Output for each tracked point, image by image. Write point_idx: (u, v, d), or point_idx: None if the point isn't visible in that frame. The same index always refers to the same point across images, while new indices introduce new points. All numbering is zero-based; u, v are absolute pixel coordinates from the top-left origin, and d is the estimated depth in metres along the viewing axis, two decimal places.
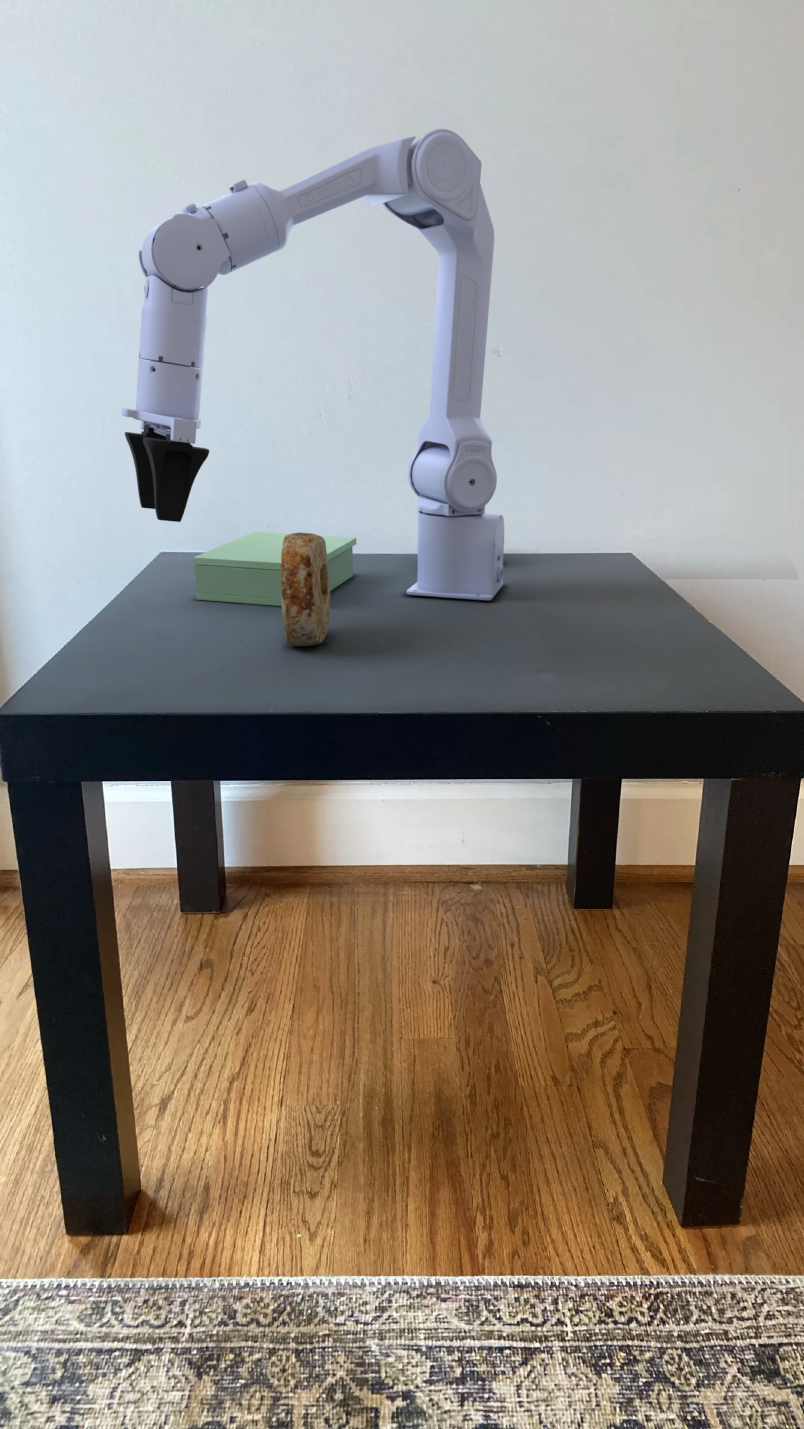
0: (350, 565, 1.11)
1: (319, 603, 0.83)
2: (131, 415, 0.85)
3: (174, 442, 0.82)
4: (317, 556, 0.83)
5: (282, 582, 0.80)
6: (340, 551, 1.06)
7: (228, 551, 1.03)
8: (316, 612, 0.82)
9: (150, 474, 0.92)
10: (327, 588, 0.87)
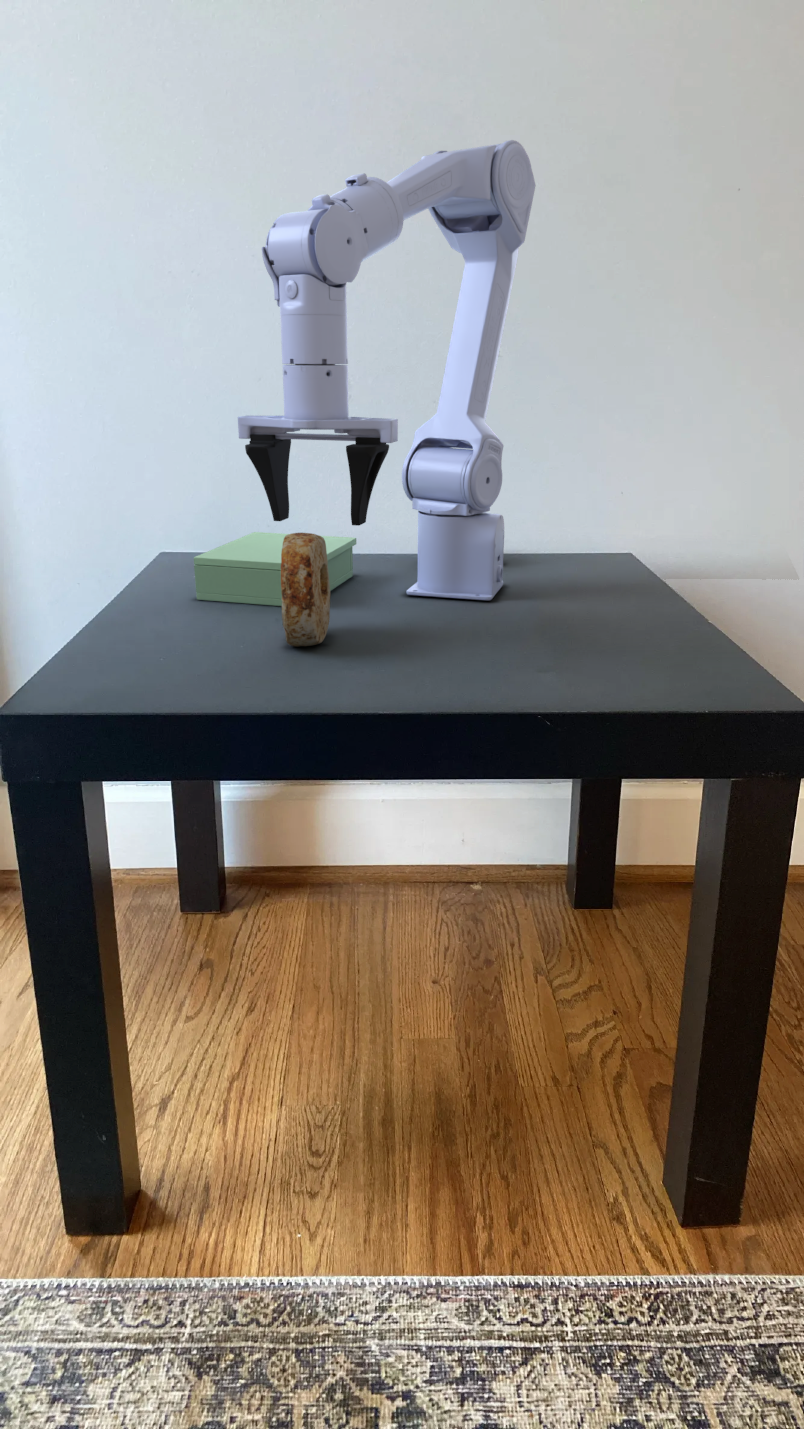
0: (350, 565, 1.11)
1: (319, 603, 0.83)
2: (314, 426, 0.81)
3: (380, 444, 0.82)
4: (317, 556, 0.83)
5: (282, 582, 0.80)
6: (340, 551, 1.06)
7: (228, 551, 1.03)
8: (316, 612, 0.82)
9: (279, 484, 0.86)
10: (327, 588, 0.87)
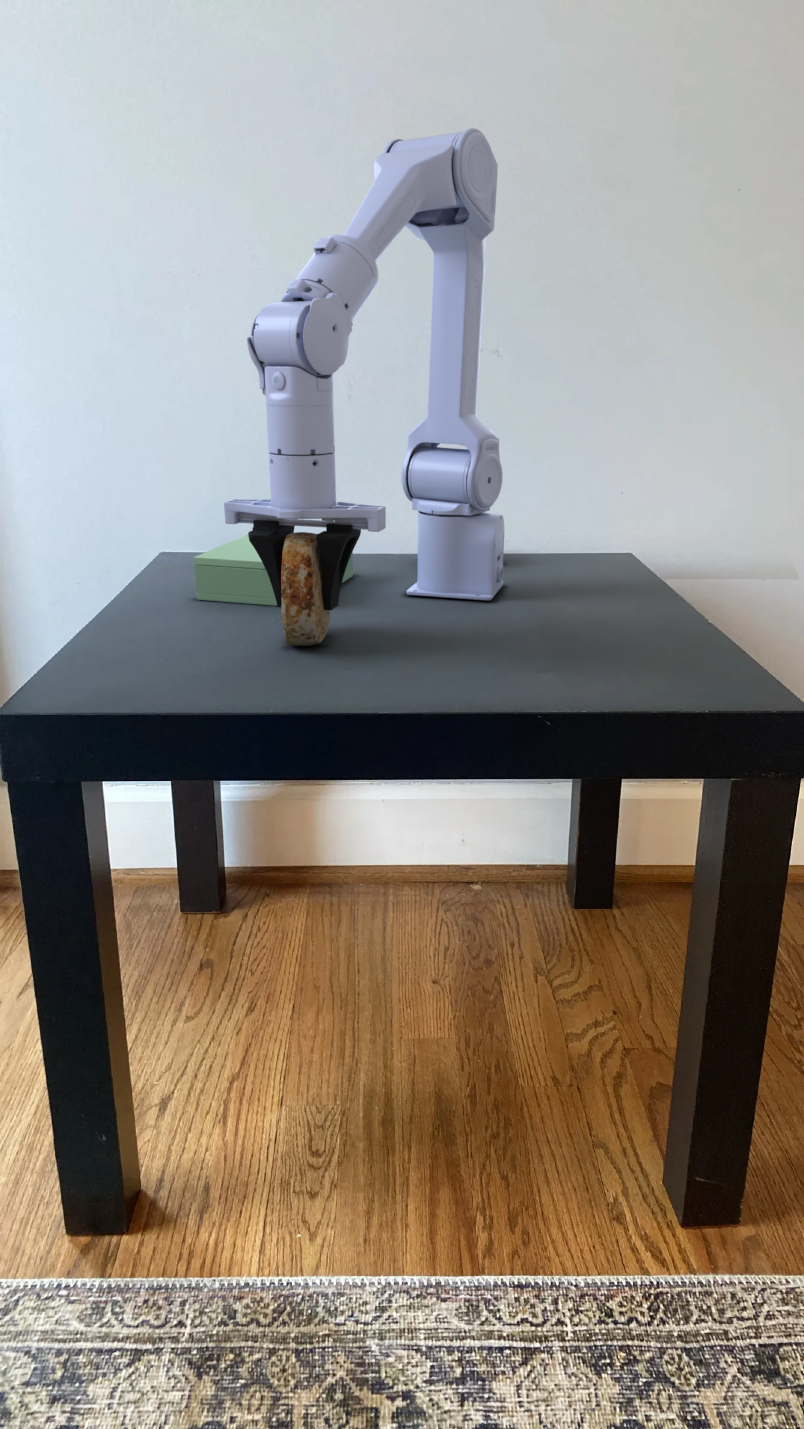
0: (350, 565, 1.11)
1: (319, 603, 0.83)
2: (300, 516, 0.80)
3: (351, 531, 0.82)
4: (318, 556, 0.83)
5: (282, 581, 0.80)
6: None
7: (228, 551, 1.03)
8: (315, 612, 0.82)
9: None
10: None
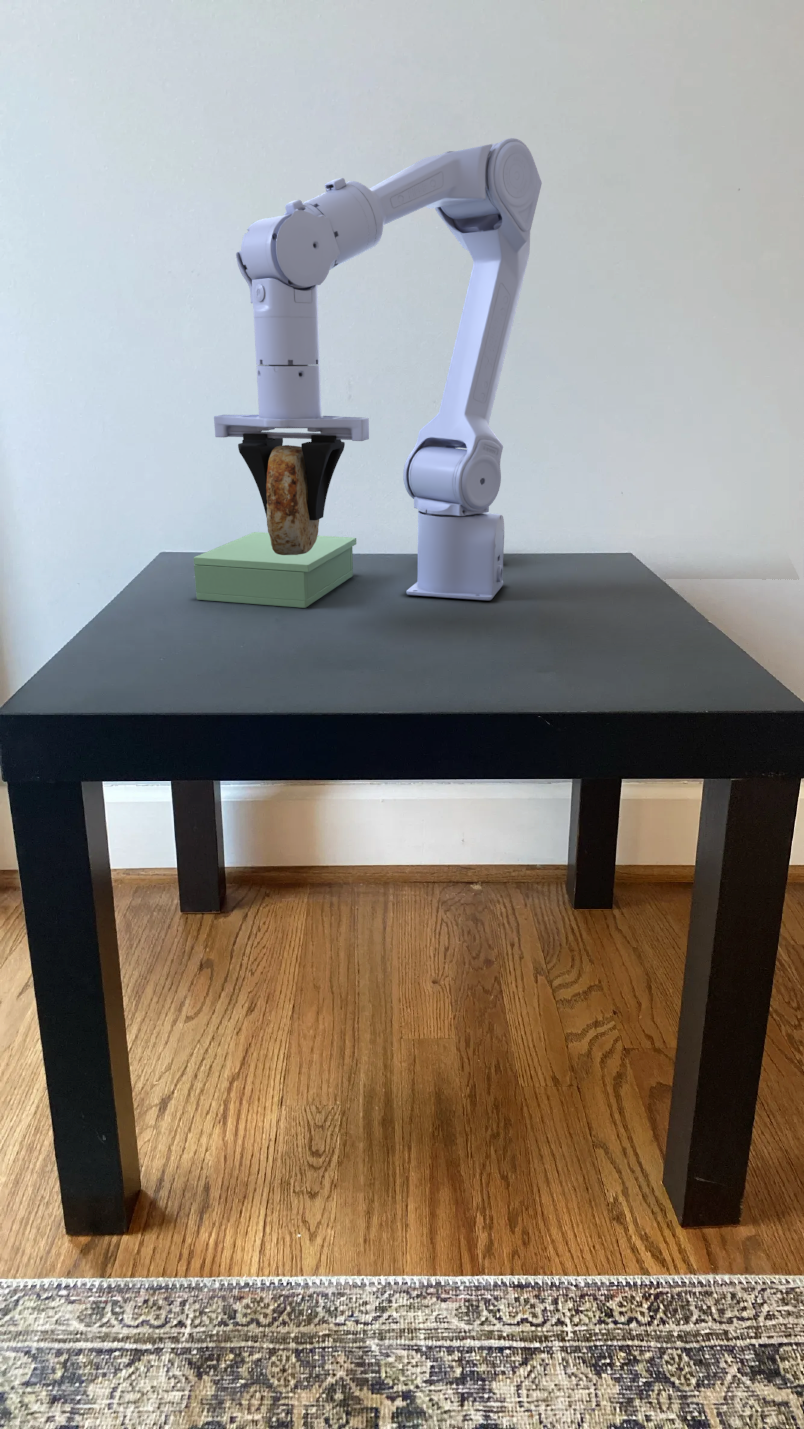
0: (350, 565, 1.11)
1: (304, 512, 0.87)
2: (287, 425, 0.83)
3: (335, 441, 0.85)
4: (303, 466, 0.86)
5: (267, 488, 0.84)
6: (340, 551, 1.06)
7: (228, 551, 1.03)
8: (300, 519, 0.86)
9: None
10: None
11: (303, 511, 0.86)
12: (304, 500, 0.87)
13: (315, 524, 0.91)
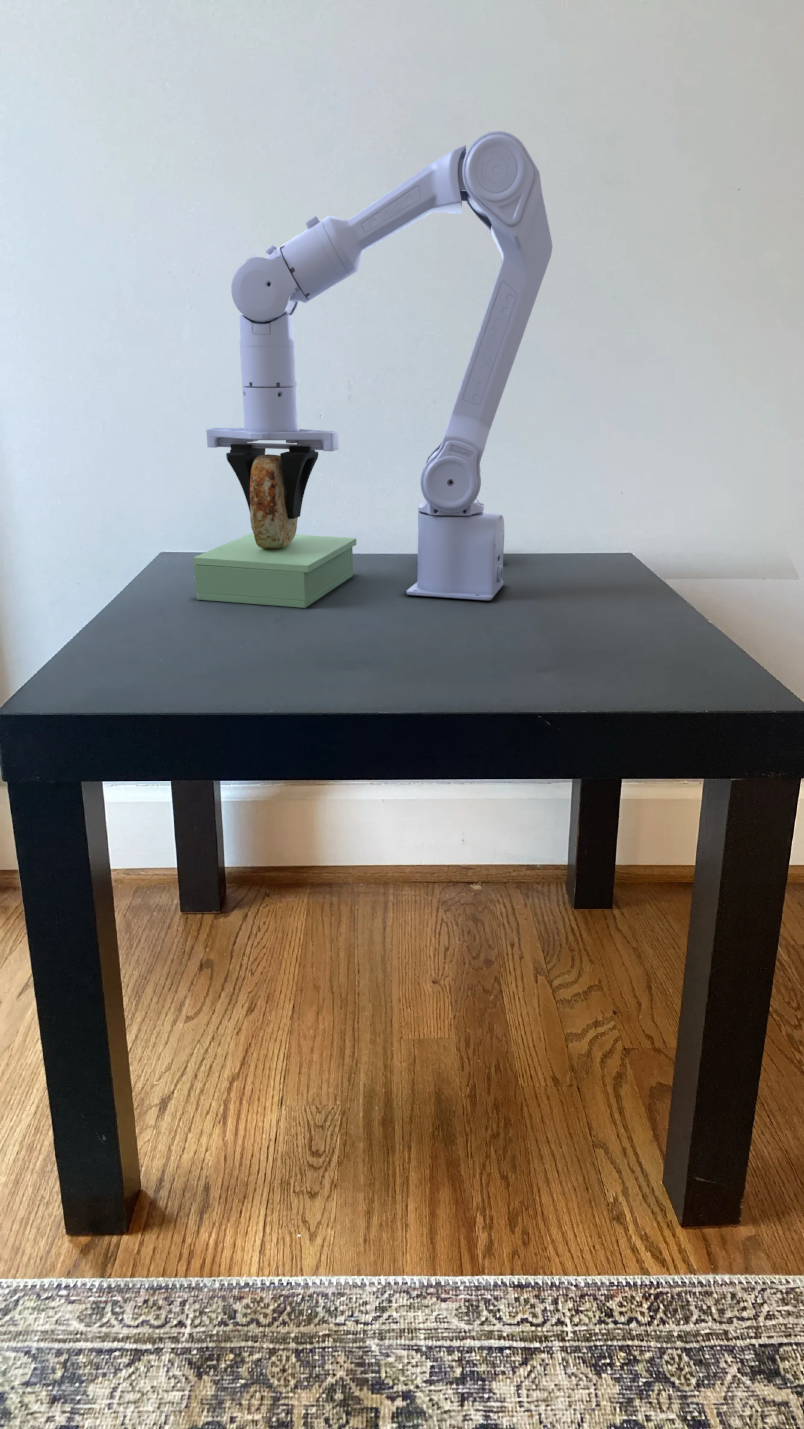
0: (350, 565, 1.11)
1: (282, 511, 1.01)
2: (267, 437, 0.98)
3: (309, 451, 1.00)
4: (281, 472, 1.01)
5: (250, 491, 0.99)
6: (340, 551, 1.06)
7: (228, 551, 1.03)
8: (279, 518, 1.00)
9: None
10: None
11: (282, 510, 1.01)
12: (282, 501, 1.01)
13: (293, 522, 1.05)
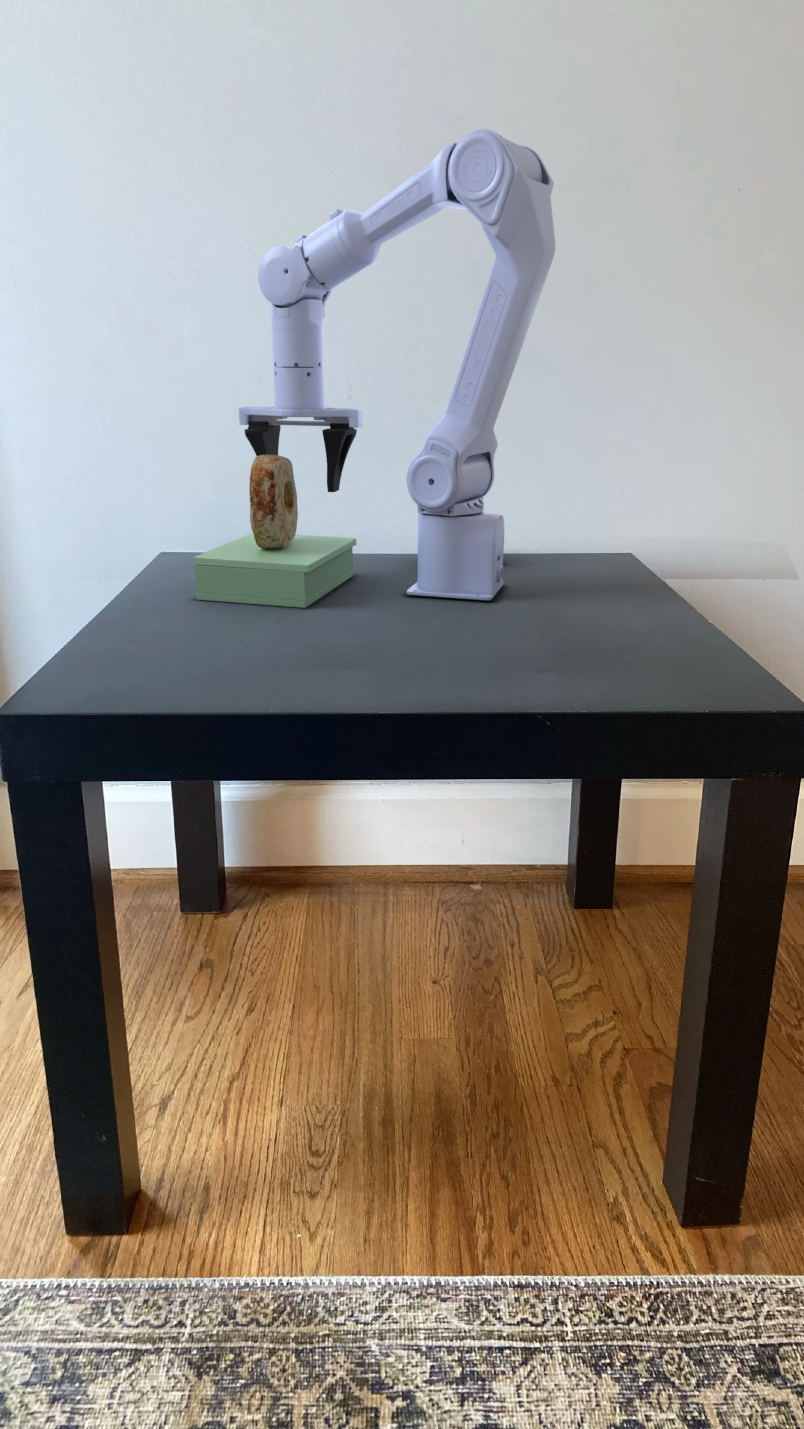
0: (350, 565, 1.11)
1: (282, 511, 1.01)
2: (297, 414, 1.05)
3: (349, 428, 1.07)
4: (281, 472, 1.01)
5: (250, 491, 0.99)
6: (340, 551, 1.06)
7: (228, 551, 1.03)
8: (278, 518, 1.00)
9: None
10: (293, 502, 1.05)
11: (281, 510, 1.01)
12: (282, 501, 1.01)
13: (293, 522, 1.05)
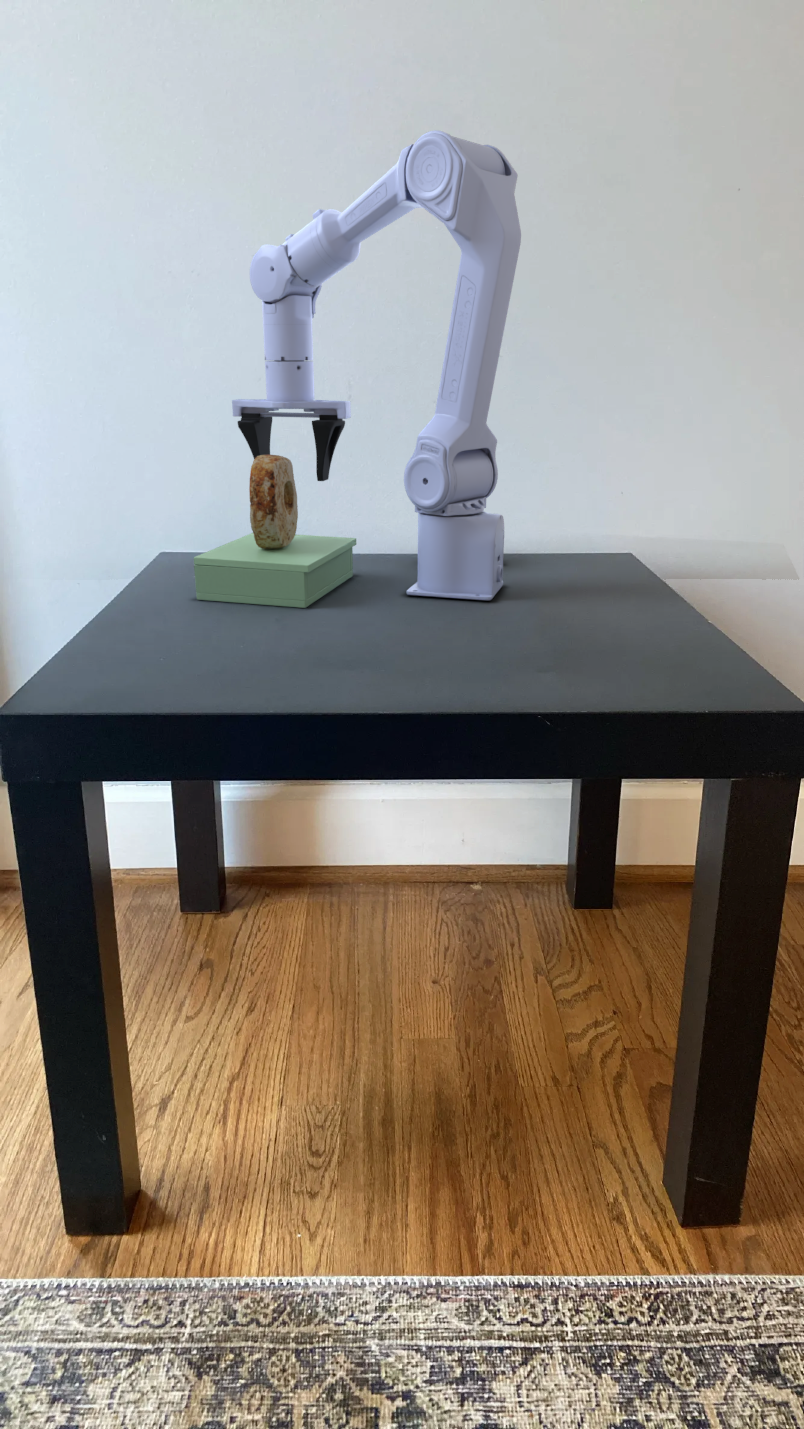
0: (350, 565, 1.11)
1: (282, 511, 1.01)
2: (288, 406, 1.09)
3: (338, 419, 1.11)
4: (281, 472, 1.01)
5: (250, 491, 0.99)
6: (340, 551, 1.06)
7: (228, 551, 1.03)
8: (278, 518, 1.00)
9: (263, 450, 1.15)
10: (293, 502, 1.05)
11: (281, 510, 1.01)
12: (282, 501, 1.01)
13: (293, 522, 1.05)
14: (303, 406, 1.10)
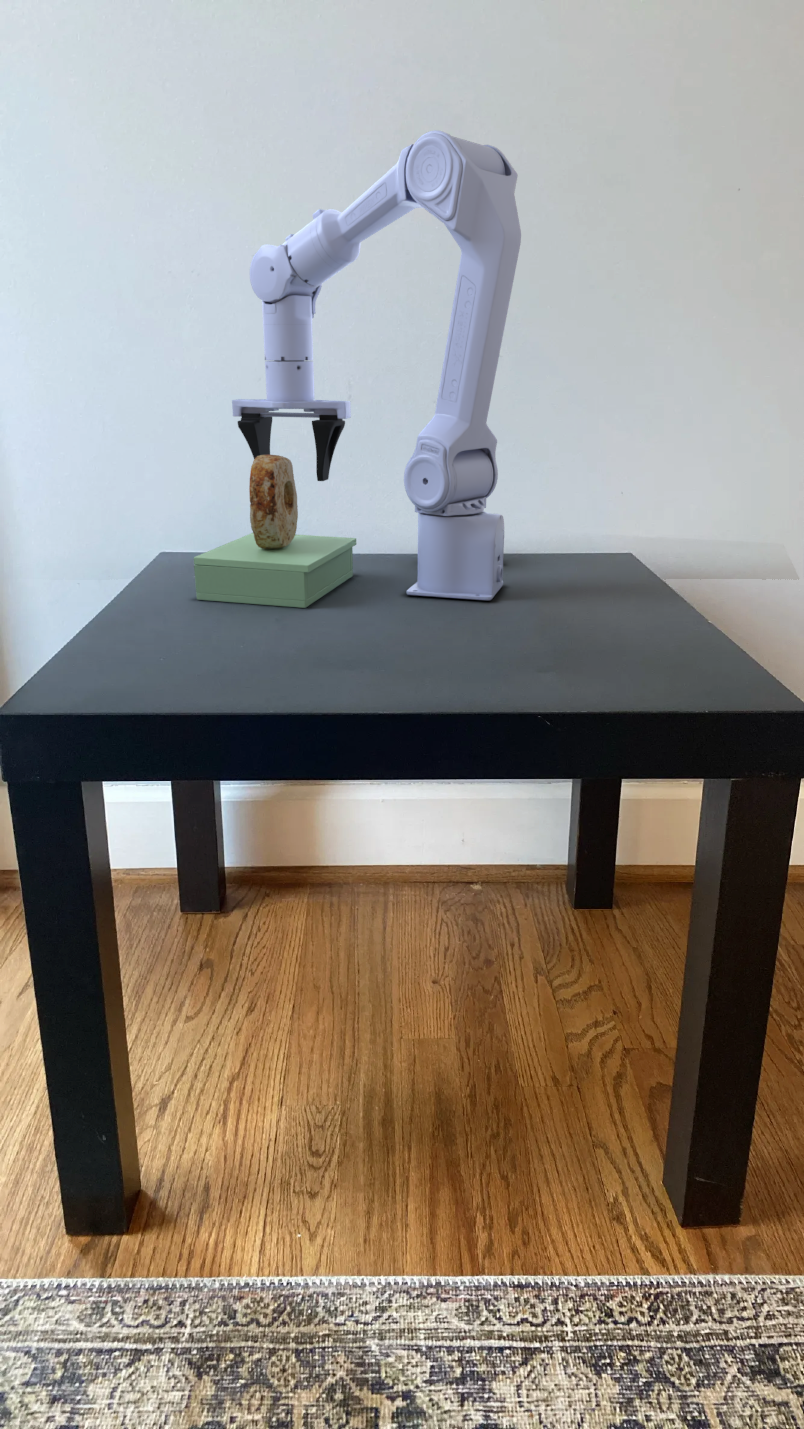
0: (350, 565, 1.11)
1: (282, 511, 1.01)
2: (288, 406, 1.09)
3: (338, 419, 1.11)
4: (281, 472, 1.01)
5: (250, 491, 0.99)
6: (340, 551, 1.06)
7: (228, 551, 1.03)
8: (278, 518, 1.00)
9: (263, 450, 1.15)
10: (293, 502, 1.05)
11: (281, 510, 1.01)
12: (282, 501, 1.01)
13: (293, 522, 1.05)
14: (303, 406, 1.10)
